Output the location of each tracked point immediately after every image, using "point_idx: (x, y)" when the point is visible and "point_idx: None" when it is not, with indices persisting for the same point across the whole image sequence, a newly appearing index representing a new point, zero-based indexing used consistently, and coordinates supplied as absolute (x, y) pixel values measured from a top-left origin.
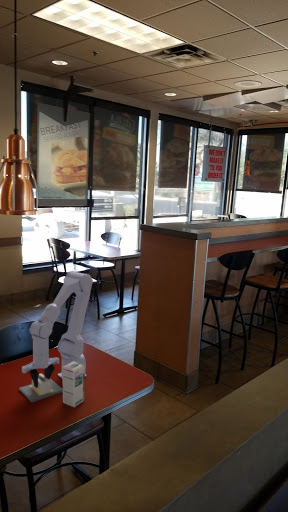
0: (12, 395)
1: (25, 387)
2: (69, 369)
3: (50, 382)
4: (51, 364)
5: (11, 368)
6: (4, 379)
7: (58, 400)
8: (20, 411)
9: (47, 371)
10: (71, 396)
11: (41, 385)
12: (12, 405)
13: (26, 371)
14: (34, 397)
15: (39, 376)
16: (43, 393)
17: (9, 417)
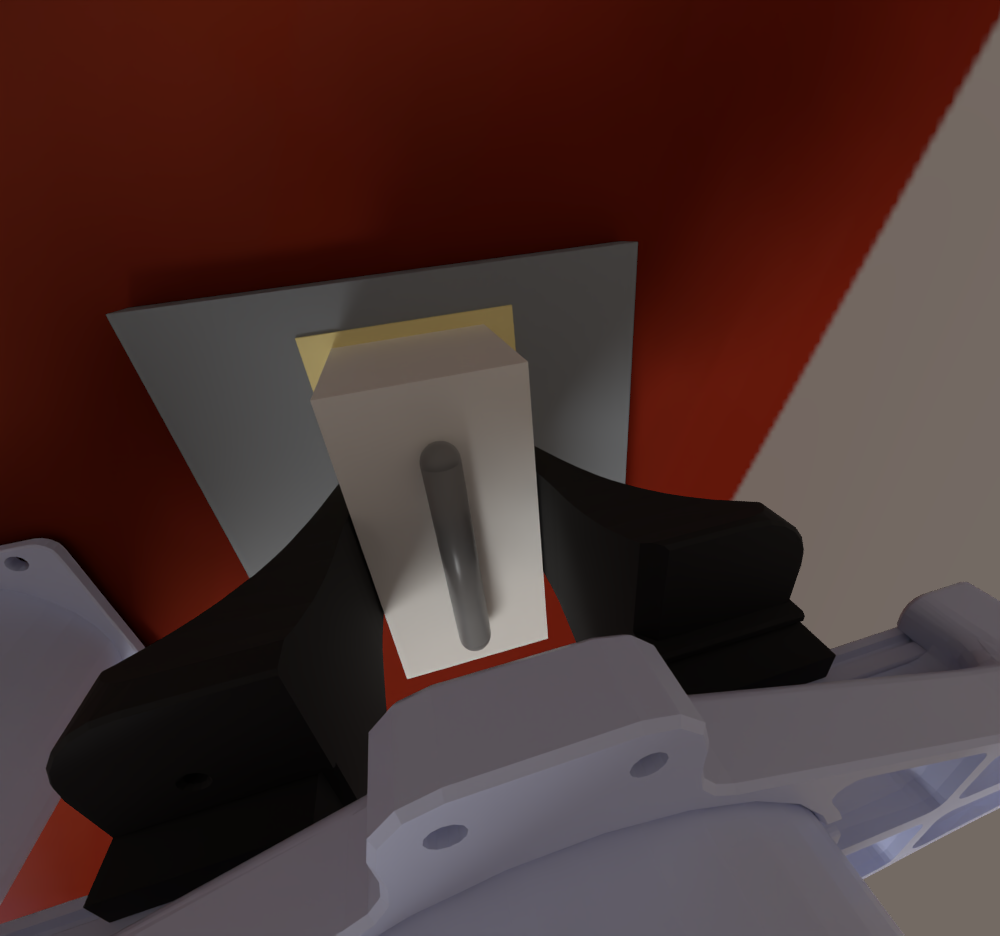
0: (691, 472)
1: None
2: None
3: (322, 391)
4: (154, 888)
5: None
6: None
7: (247, 49)
8: (807, 87)
9: (342, 645)
10: None
11: (513, 357)
12: (785, 290)
13: (949, 622)
14: (582, 288)
15: (481, 593)
16: (449, 330)
17: (954, 16)
